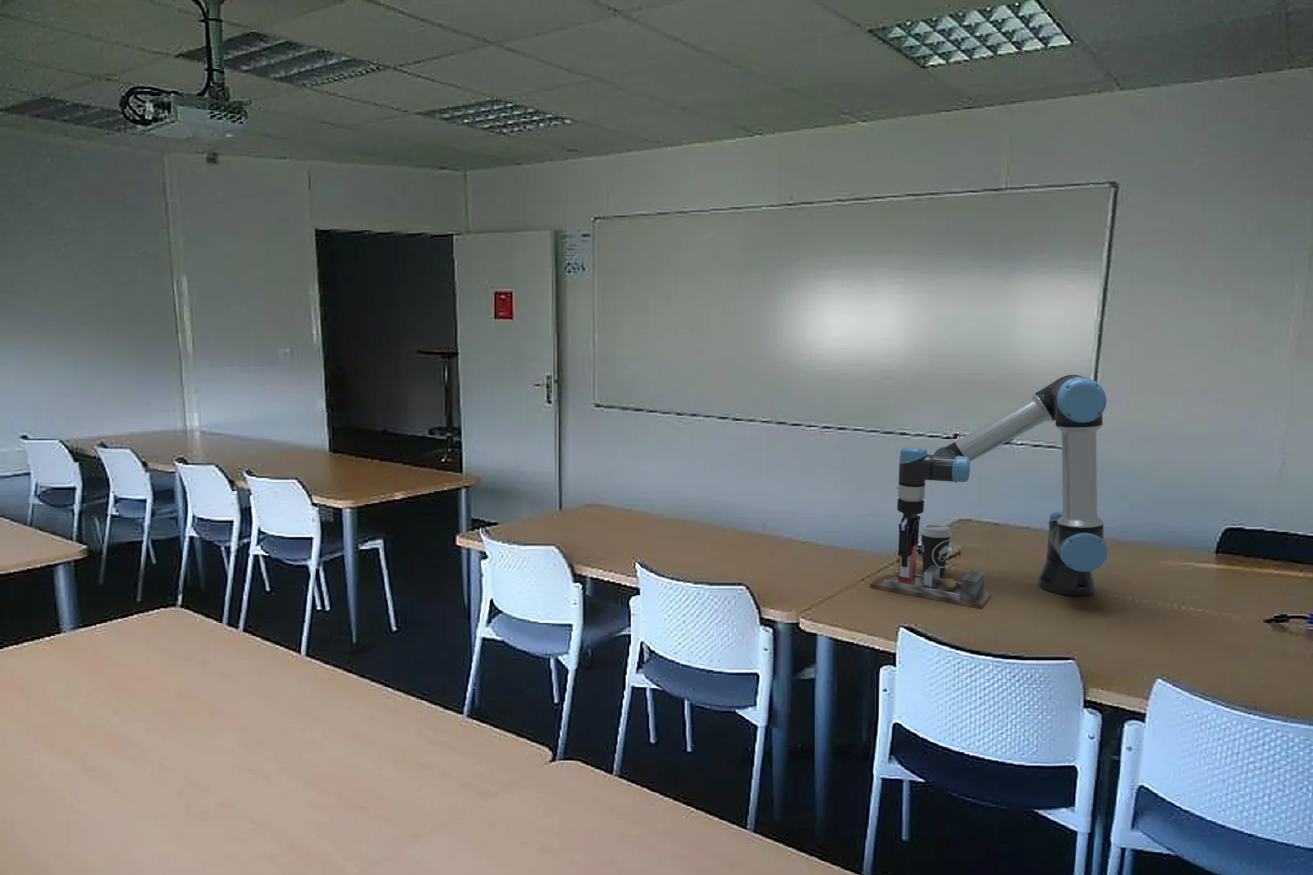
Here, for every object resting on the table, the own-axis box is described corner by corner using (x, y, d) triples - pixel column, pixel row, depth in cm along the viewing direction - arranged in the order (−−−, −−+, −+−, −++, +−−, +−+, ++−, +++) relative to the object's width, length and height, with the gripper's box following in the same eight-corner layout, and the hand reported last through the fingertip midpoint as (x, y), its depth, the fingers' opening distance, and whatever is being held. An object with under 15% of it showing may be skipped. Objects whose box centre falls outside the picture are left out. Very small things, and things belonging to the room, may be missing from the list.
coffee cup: (945, 568, 263) (947, 523, 261) (952, 578, 253) (955, 531, 251) (915, 567, 264) (917, 523, 262) (921, 577, 254) (924, 530, 252)
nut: (957, 591, 238) (958, 578, 238) (954, 594, 235) (954, 581, 234) (943, 588, 240) (944, 575, 240) (939, 592, 237) (940, 579, 236)
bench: (990, 596, 237) (992, 573, 236) (981, 609, 227) (982, 584, 226) (883, 576, 255) (884, 554, 254) (870, 587, 245) (871, 564, 244)
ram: (938, 584, 243) (941, 545, 241) (931, 592, 236) (933, 552, 235) (902, 577, 249) (904, 540, 247) (894, 584, 243) (895, 546, 241)
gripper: (907, 492, 250) (903, 565, 253) (889, 502, 236) (885, 579, 239) (931, 495, 245) (927, 569, 249) (915, 506, 231) (910, 584, 235)
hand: (906, 574), depth 244 cm, fingers closed on ram, 4 cm apart
